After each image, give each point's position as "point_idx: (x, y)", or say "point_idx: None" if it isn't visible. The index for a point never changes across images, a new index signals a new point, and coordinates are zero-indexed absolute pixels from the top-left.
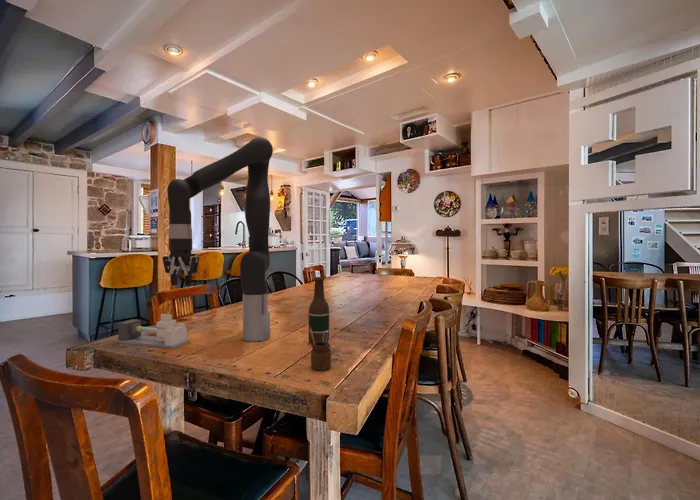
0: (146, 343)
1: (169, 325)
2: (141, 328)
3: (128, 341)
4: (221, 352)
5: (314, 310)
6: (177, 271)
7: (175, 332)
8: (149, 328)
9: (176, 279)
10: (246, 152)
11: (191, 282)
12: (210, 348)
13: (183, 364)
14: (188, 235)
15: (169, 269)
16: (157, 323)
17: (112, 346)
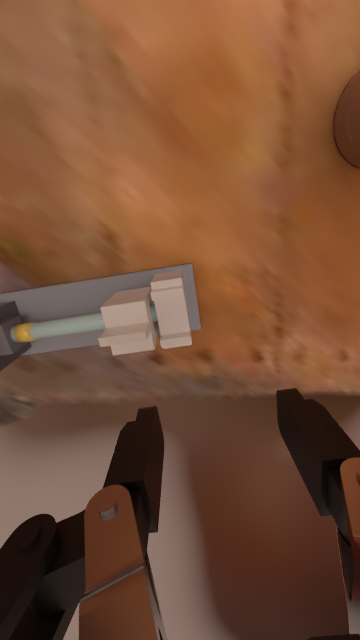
0: None
1: (152, 328)
2: (40, 338)
3: (43, 349)
4: (347, 294)
5: None
6: (135, 519)
7: (189, 326)
8: (70, 333)
9: (154, 448)
10: None
11: (325, 411)
12: (294, 281)
13: (311, 389)
14: None
15: (50, 601)
16: (118, 352)
17: (37, 376)
